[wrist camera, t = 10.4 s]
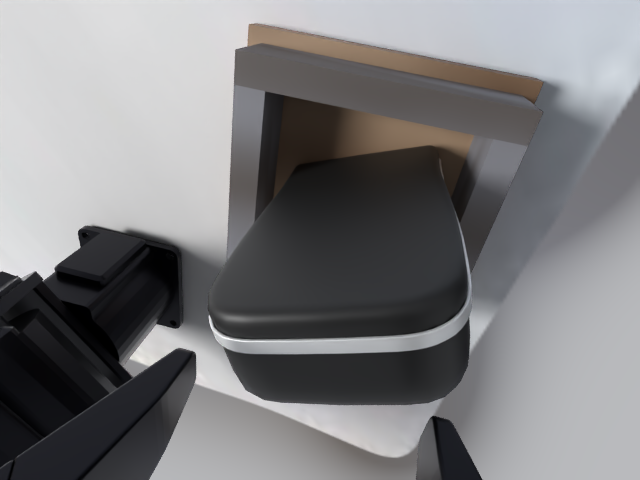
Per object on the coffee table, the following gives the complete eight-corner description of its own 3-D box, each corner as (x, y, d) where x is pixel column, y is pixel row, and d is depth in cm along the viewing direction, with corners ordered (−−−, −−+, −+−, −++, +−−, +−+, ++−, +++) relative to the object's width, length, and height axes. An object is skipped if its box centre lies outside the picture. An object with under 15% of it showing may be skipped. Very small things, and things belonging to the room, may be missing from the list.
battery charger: (308, 231, 21) (222, 426, 11) (290, 162, 19) (171, 322, 9) (447, 217, 19) (489, 436, 9) (442, 139, 17) (487, 310, 8)
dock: (443, 299, 23) (449, 351, 19) (241, 250, 24) (213, 292, 20) (536, 78, 16) (570, 97, 13) (256, 23, 17) (219, 27, 14)
